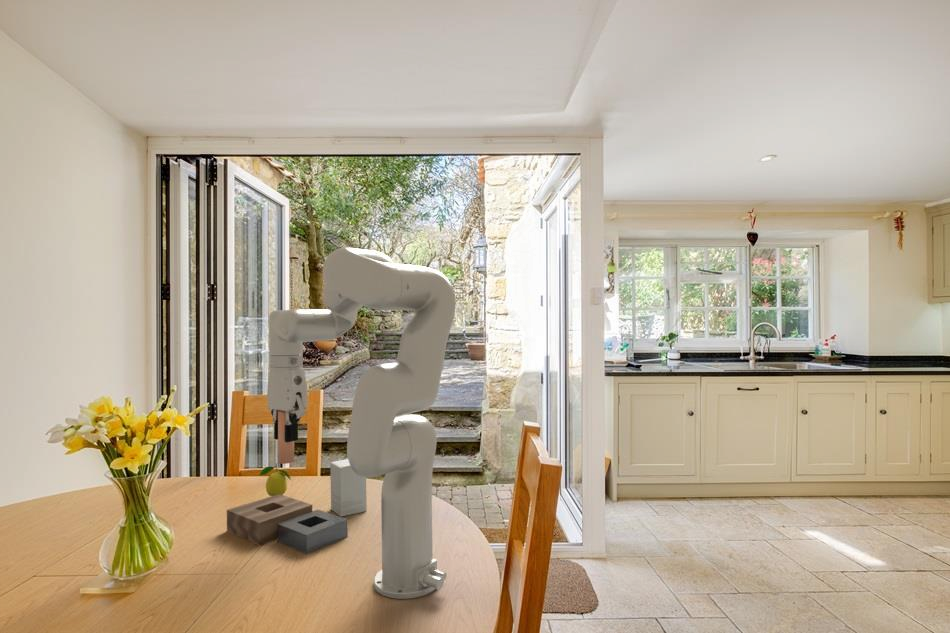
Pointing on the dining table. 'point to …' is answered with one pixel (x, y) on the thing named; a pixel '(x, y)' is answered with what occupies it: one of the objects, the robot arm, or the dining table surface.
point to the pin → (284, 447)
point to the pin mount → (312, 531)
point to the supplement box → (347, 489)
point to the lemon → (275, 481)
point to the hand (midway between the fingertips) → (286, 438)
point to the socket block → (264, 517)
